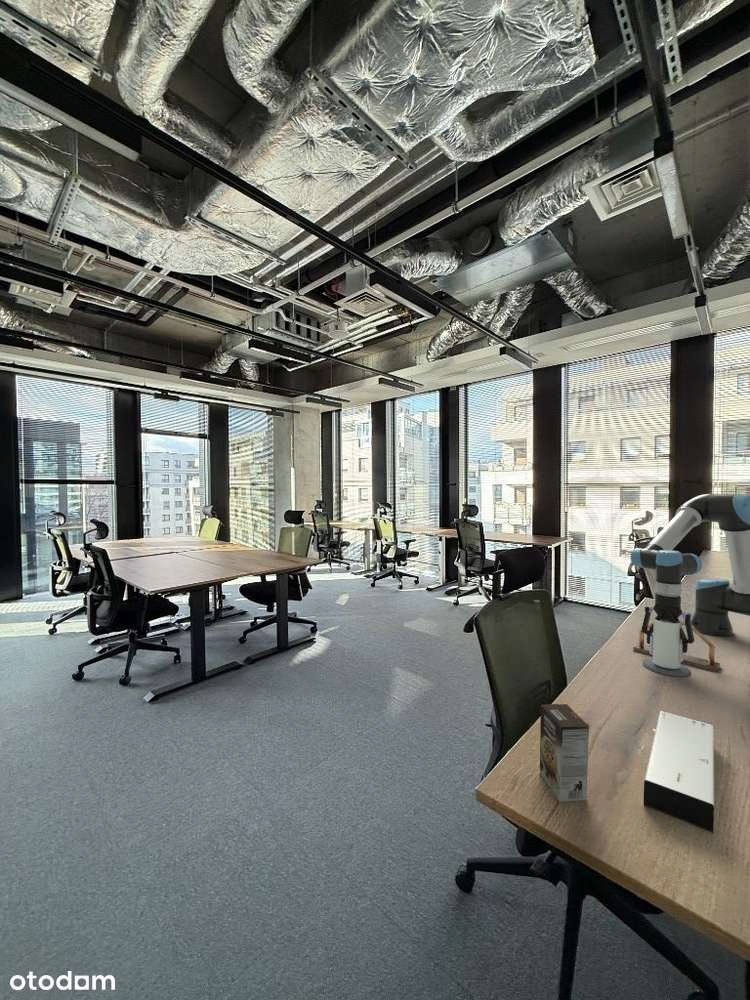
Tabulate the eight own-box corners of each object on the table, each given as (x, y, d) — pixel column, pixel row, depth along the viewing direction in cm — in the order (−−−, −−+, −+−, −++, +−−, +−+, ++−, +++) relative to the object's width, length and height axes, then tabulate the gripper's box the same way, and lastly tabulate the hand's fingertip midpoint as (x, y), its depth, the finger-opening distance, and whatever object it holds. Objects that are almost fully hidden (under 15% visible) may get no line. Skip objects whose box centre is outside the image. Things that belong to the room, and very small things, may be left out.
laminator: (713, 837, 80) (714, 805, 80) (636, 806, 88) (637, 777, 87) (712, 748, 107) (713, 724, 106) (654, 731, 114) (655, 708, 114)
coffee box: (538, 773, 97) (539, 703, 96) (565, 771, 98) (566, 702, 97) (558, 803, 88) (560, 726, 87) (588, 801, 88) (590, 725, 88)
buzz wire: (638, 646, 172) (639, 611, 171) (719, 667, 153) (721, 627, 152) (633, 650, 168) (634, 614, 167) (716, 672, 149) (718, 631, 148)
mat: (649, 656, 162) (649, 655, 162) (694, 668, 152) (694, 666, 152) (637, 667, 153) (637, 665, 153) (684, 680, 142) (684, 678, 142)
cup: (671, 659, 156) (672, 616, 155) (685, 669, 148) (686, 623, 147) (647, 658, 157) (648, 615, 156) (660, 668, 149) (661, 623, 148)
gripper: (631, 590, 156) (630, 651, 157) (702, 602, 141) (700, 669, 142) (637, 587, 162) (636, 645, 162) (707, 598, 146) (705, 663, 147)
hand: (666, 656), depth 152 cm, fingers closed on cup, 8 cm apart
